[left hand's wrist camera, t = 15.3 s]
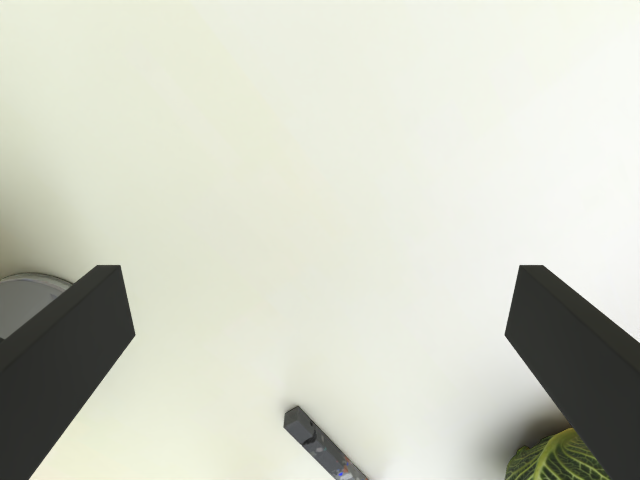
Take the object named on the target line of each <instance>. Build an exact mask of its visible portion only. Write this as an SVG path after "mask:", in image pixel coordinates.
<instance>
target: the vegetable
mask: <svg viewBox="0 0 640 480" xmlns="http://www.w3.org/2000/svg"><path fill="white" fill-rule="evenodd" d="M505 480H611V479H610V477H609V476H608V474H607V473H606V472H605V470H604V469H603V468H602V466H601V465H600V464H599V462H598V461H597V460H596V458H595V457H594V456H593V454H592V453H591V451H590V450H589V449H588V447H587V446H586V445H585V443H584V442H583V441H582V439H581V438H580V437H579V435H578V434H577V433H576V431H575V430H574V428H568V429H566V430H564V431H562V432H560V433H558V434H554V435H552V436H548V437H546V438H544V439H542V440H541V441H540V443H538V444H537V445H536V446H534V447H533V448H531V449H530V448H529V447H527V446H523V447H522V448H520V449H519V450H518V451H517V454H516V455H515V456H514V457H513V458H512V459H511V460H510V462H509V464H508V466H507V470H506V476H505Z"/></svg>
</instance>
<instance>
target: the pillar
mask: <svg viewBox="0 0 640 480" xmlns="http://www.w3.org/2000/svg"><path fill="white" fill-rule="evenodd" d="M284 428H285V429H286V430H287V431H288V432H289V433H290V434H291V435H292V436H293V437H294V438H295V439H296V440H297V441H298V442H299V443H300V444H301V445H302V446H303V447H304V448H305V449H306V450H307V451H308V452H309V453H310V454H311V455H312V456H313V457H314V458H315V459H316V460H317V461H318V462H319V463H320V464H321V465H322V466H323V467H324V468H325V469H326V470H327V471H328V472H329V473H330V474H331V475H332V476H333V477H334V478H335V479H336V480H368V479H367V478H366V477H365V476H364V475H363V474H362V473H361V472H360V471H359V470H358V469H357V468H356V467H355V465H354V464H353V463H352V462H351V461H350V460H349V459H348V458H347V457H346V456H345V455H344V454H343V453H342V452H341V451H340V450H339V449H338V448H337V447H336V446H335V444H334V443H333V442H332V441H331V440H330V439H329V438H328V437H327V436H326V435H325V434H324V433H323V432H322V431H321V430H320V429H319V428H318V427H317V426H316V425H315V423H314V422H313V421H312V420H311V419H310V418H309V417H308V416H307V415H306V414H305V413H304V412H303V411H302V410H301V409H300V408H299V407H296V408H294V409H293V410H291V411H289V412H287V413H285V418H284Z"/></svg>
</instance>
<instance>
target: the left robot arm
mask: <svg viewBox="0 0 640 480" xmlns="http://www.w3.org/2000/svg"><path fill="white" fill-rule="evenodd" d="M134 336H135V331H134V326H133V321H132V317H131V312H130V308H129V303H128V298H127V294H126V289H125V284H124V280H123V275H122V271H121V266H120V265H97V266H95V267H94V268H93V269H92V270H90V271H89V272H88V273H87V274H85V275H84V276H83V277H82V278H81V279H79V280H78V281H77V282H76V283H74V284H71V283H69V282H67V281H64V280H62V279H60V278H56V277H53V276H49V275H45V274H38V273H22V274H16V275H11V276H8V277H6V278H3V279H1V280H0V480H29V478H30V477H31V476H32V474H33V473H34V472H35V470H36V469H37V468H38V466H39V465H40V464H41V462H42V461H43V460H44V458H45V457H46V456H47V454H48V453H49V451H50V450H51V449H52V447H53V446H54V445H55V443H56V442H57V441H58V439H59V438H60V437H61V435H62V434H63V433H64V431H65V430H66V428H67V427H68V426H69V424H70V423H71V422H72V420H73V419H74V418H75V416H76V415H77V414H78V412H79V411H80V410H81V408H82V407H83V405H84V404H85V403H86V401H87V400H88V399H89V397H90V396H91V395H92V393H93V392H94V391H95V389H96V388H97V387H98V385H99V384H100V382H101V381H102V380H103V378H104V377H105V376H106V374H107V373H108V372H109V370H110V369H111V368H112V366H113V365H114V364H115V362H116V361H117V359H118V358H119V357H120V355H121V354H122V353H123V351H124V350H125V349H126V347H127V346H128V345H129V343H130V342H131V341H132V339H133V338H134ZM505 337H506V338H507V339H508V341H509V342H510V343H511V345H512V346H513V347H514V349H515V350H516V351H517V353H518V354H519V355H520V357H521V358H522V359H523V361H524V362H525V364H526V365H527V366H528V368H529V369H530V370H531V372H532V373H533V374H534V376H535V377H536V378H537V380H538V381H539V382H540V384H541V385H542V387H543V388H544V389H545V391H546V392H547V393H548V395H549V396H550V397H551V399H552V400H553V401H554V403H555V404H556V405H557V407H558V408H559V410H560V411H561V412H562V414H563V415H564V416H565V418H566V419H567V420H568V422H569V423H570V424H571V426H572V427H573V428H574V430H575V431H576V433H577V434H578V435H579V437H580V438H581V439H582V441H583V442H584V443H585V445H586V446H587V447H588V449H589V450H590V451H591V453H592V454H593V456H594V457H595V458H596V460H597V461H598V462H599V464H600V465H601V466H602V468H603V469H604V470H605V472H606V473H607V474H608V476H609V477H610V479H611V480H640V343H639V342H638V341H636V340H635V339H634V338H633V337H631V336H630V335H629V334H628V333H627V332H625V331H624V330H623V329H622V328H620V327H619V326H618V325H617V324H615V323H614V322H613V321H612V320H610V319H609V318H608V317H607V316H605V315H604V314H603V313H602V312H600V311H599V310H598V309H597V308H595V307H594V306H593V305H592V304H591V303H589V302H588V301H587V300H586V299H584V298H583V297H582V296H581V295H579V294H578V293H577V292H576V291H574V290H573V289H572V288H571V287H569V286H568V285H567V284H566V283H564V282H563V281H562V280H561V279H559V278H558V277H557V276H556V275H555V274H553V273H552V272H551V271H550V270H548V269H547V268H546V267H545V266H543V265H520V266H519V271H518V275H517V280H516V284H515V289H514V294H513V298H512V303H511V308H510V312H509V317H508V321H507V326H506V331H505Z"/></svg>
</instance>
